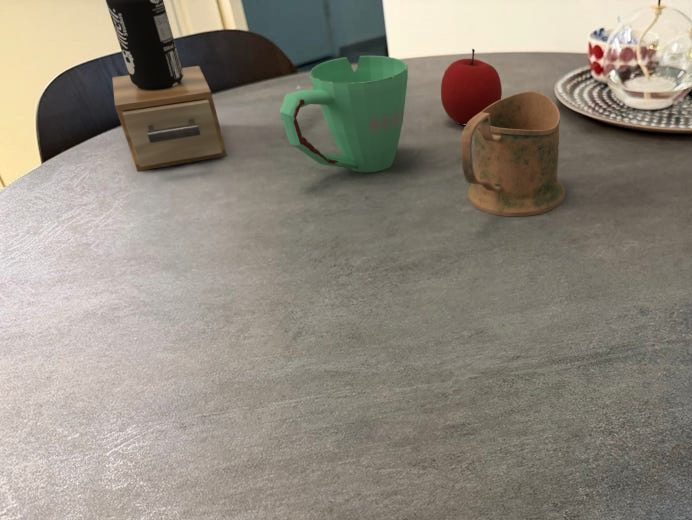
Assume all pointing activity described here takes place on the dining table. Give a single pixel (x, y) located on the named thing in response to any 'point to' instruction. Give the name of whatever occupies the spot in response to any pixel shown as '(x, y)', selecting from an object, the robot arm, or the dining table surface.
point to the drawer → (172, 132)
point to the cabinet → (186, 90)
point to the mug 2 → (514, 156)
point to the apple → (469, 88)
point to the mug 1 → (354, 111)
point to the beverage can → (146, 43)
